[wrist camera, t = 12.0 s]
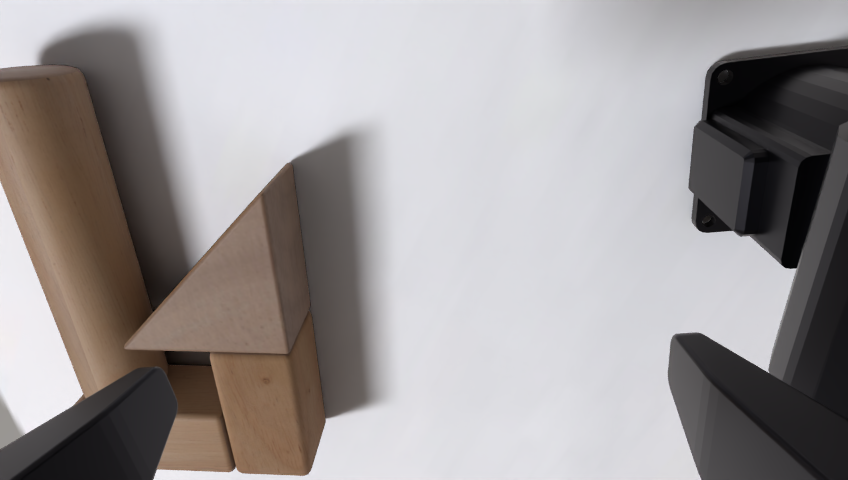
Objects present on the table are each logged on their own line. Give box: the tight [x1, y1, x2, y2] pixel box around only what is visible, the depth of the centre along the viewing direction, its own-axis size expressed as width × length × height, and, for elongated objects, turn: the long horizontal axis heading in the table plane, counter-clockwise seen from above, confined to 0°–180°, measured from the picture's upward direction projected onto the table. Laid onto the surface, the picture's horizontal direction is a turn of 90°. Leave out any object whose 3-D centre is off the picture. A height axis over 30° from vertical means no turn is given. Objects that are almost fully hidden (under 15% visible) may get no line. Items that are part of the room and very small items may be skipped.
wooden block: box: [0, 65, 326, 476], centre depth 23 cm, size 4×11×18 cm
